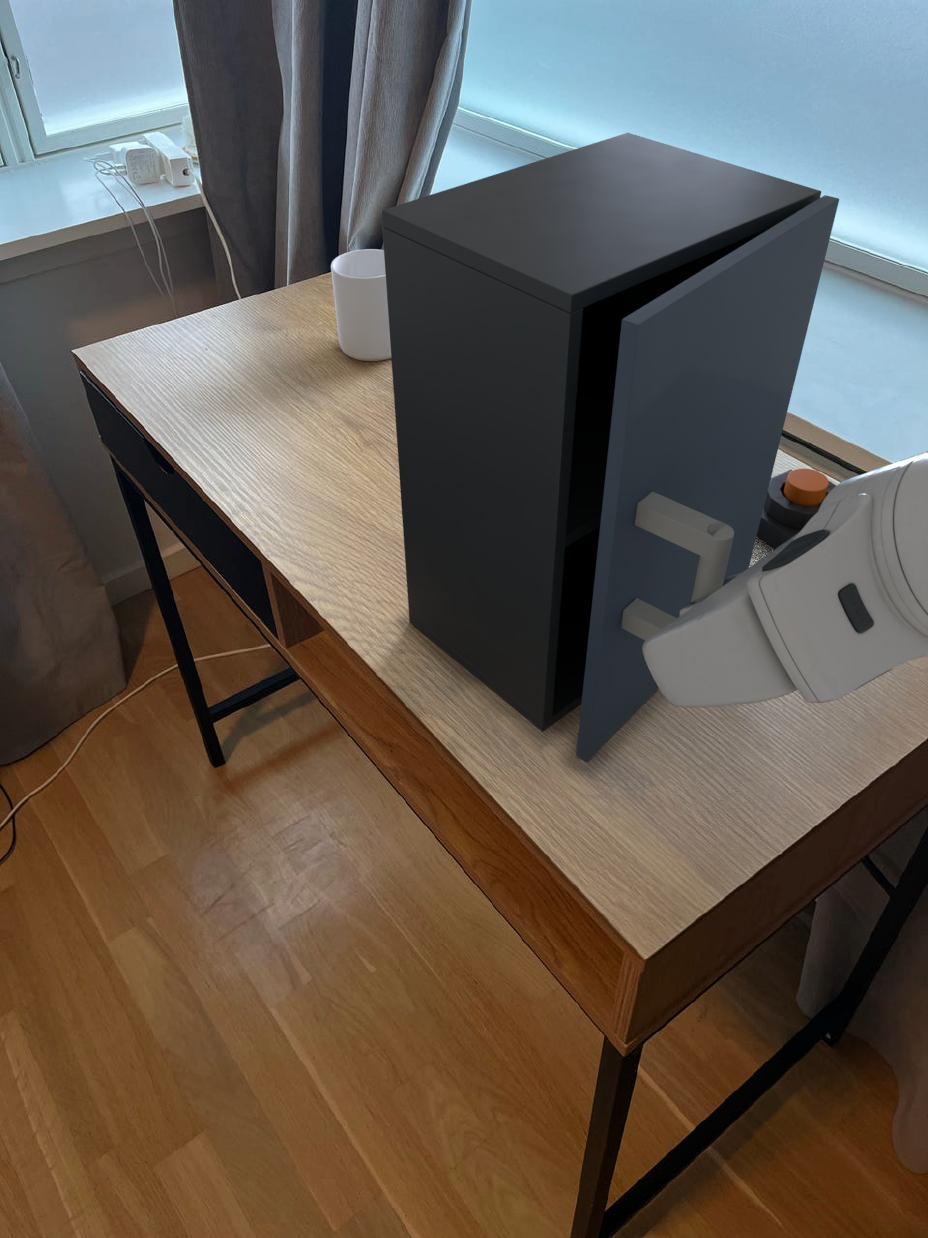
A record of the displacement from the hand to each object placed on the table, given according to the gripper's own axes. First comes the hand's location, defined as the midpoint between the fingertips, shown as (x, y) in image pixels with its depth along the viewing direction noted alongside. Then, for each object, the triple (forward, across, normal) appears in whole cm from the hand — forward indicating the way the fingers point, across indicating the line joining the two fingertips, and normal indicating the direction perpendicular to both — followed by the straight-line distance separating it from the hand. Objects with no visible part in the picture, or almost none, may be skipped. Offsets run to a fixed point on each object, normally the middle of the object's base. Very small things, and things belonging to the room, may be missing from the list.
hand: (707, 606), depth 58 cm
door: (+14, -8, +9) cm, 18 cm away
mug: (+60, -24, -36) cm, 74 cm away
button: (+17, -31, +1) cm, 36 cm away
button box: (+20, -31, +4) cm, 37 cm away
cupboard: (+24, -7, 0) cm, 25 cm away
